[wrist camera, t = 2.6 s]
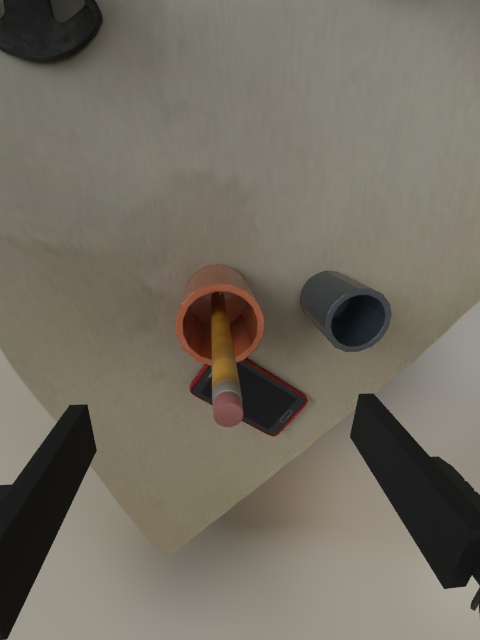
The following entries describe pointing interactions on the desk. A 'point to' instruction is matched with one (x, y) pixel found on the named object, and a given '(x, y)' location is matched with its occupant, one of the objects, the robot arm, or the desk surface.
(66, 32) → the holder
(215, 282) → the pencil cup
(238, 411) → the pencil
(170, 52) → the desk surface
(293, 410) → the cell phone
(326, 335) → the tumbler
